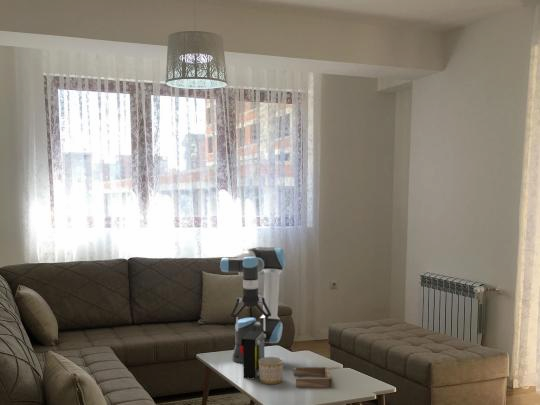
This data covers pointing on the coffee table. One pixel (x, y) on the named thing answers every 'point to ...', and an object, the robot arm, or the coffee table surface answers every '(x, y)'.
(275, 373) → the planter
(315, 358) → the coffee table surface
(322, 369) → the walnut cradle
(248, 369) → the electrical component
